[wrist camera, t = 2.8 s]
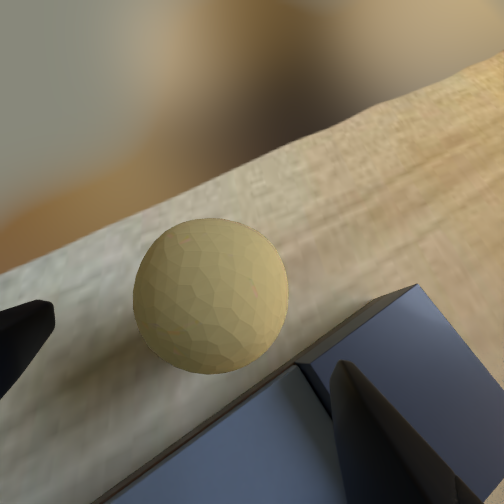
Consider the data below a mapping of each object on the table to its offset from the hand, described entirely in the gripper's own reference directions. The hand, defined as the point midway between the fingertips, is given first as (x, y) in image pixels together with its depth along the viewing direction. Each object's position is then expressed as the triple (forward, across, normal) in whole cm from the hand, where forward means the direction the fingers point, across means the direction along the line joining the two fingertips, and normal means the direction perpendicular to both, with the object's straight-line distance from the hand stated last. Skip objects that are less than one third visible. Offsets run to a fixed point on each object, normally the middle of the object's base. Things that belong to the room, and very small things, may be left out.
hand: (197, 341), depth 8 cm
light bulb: (+8, 0, +5) cm, 10 cm away
